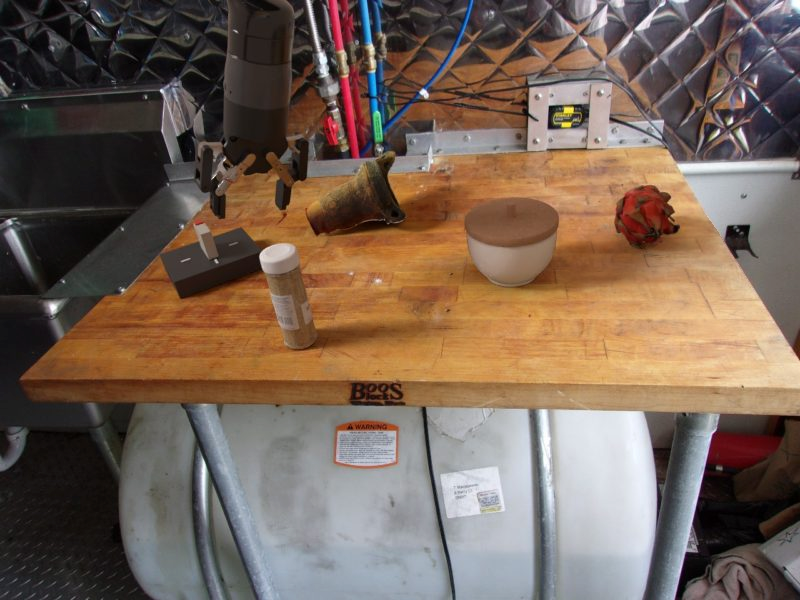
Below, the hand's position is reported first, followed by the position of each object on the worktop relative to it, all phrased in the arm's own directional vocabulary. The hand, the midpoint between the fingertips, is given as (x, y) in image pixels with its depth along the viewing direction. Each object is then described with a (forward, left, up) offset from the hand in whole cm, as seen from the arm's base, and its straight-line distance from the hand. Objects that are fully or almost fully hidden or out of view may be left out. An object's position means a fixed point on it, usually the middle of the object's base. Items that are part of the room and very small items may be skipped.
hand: (251, 211), depth 78 cm
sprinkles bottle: (-1, -12, -14) cm, 19 cm away
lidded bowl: (+30, -17, -14) cm, 37 cm away
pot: (+23, +13, -14) cm, 30 cm away
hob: (-5, +15, -14) cm, 21 cm away
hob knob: (-5, +15, -11) cm, 19 cm away
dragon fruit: (+51, -22, -14) cm, 58 cm away
